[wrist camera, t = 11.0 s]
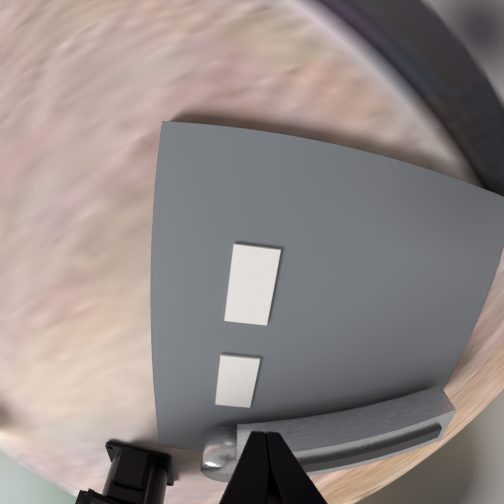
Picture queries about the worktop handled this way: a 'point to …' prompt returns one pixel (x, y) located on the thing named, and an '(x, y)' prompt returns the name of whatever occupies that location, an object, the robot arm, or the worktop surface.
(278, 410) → the label board
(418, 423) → the bar
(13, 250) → the worktop surface
